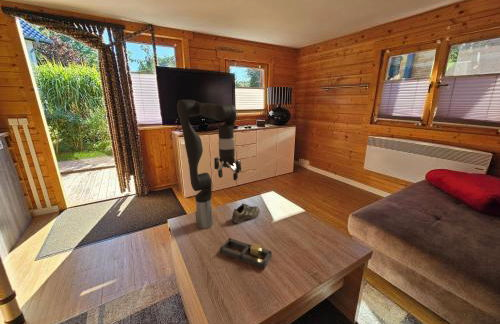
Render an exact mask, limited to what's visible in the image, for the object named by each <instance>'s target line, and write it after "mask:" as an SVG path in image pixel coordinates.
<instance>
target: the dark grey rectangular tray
mask: <svg viewBox="0 0 500 324" xmlns="http://www.w3.org/2000/svg"><path fill="white" fill-rule="evenodd" d="M252 245H253V244H249V243H246V242H244V241H239V240H237V239H233V238H228V239H227V240H226V241H225V242H224V243H223V244H222V246H220V247H219V252H220V254H221V255H224V256H226V257H229V258H231V259H234V260H237V261H240V262H243V263H246V264H249V265H251V266H253V267H257V268H259V269H262V270H265V269H266V267H267V266H268V264H269V262H270V260H271V259H272V253H273V252H272V251H271V250H268V249H266V248H263V247H262V248H261V257H263V258H264V259H262V258H261V259H258V258H255V257H252V256H251V255H250V254H249V253H250V248H251V246H252ZM230 246H231V247H233V248H236V249H240V250H242V251H241V252H239V251H237V250H234V249H232V248H230Z"/></svg>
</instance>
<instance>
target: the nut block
mask: <svg viewBox="0 0 500 324" xmlns="http://www.w3.org/2000/svg"><path fill="white" fill-rule="evenodd" d="M251 245H252V246H251V248H250V252H249V253H250V254H249V256H252V257H255V258H258V259H261V260H262V256H261V248H262V249H263V247H262V246H263V245H262V244H259V243H255V242H253V244H251Z"/></svg>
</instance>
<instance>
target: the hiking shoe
mask: <svg viewBox="0 0 500 324" xmlns="http://www.w3.org/2000/svg"><path fill="white" fill-rule="evenodd" d="M260 213H261V210H260V208H259V206H257V205H256V206H251V205H249V204H246V203H244V202H243V203H241V205H240V206H238V207H236V208H234V210H233V212H232V216H231V221H232V222H233V223H235V224H241V223H244V222H245V221H246V220H253V219H256V218H257V217H258V216H259V215H260Z"/></svg>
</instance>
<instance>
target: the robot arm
mask: <svg viewBox="0 0 500 324" xmlns="http://www.w3.org/2000/svg"><path fill="white" fill-rule="evenodd" d="M176 110H177V114H178V118H179V121H180V125H181V130H182V135H183V139H184V141H183V142H184V147H185V152H186V157H187V162H188V168H189V169H188V170H189V178H190V185H191V188H192V190H193V191H195V192H198V193H196V195H195V197H194V198H195V207H196V208H195V209H196V210H195V212H194V213H195V222H196V223H195V224H196V225H197V226H198V228H199V229H209V228H211V227H212V226H213V225H214V220H213V216H214V215H213V206H212V205H213V203H212V202H213V201H212V193H213V190H212V185H213V184H212V183H213V182H212V177H211V175H210V173H208V172H202V173H201V172H200V173H198V172H199V171H198V167H199V163H200V160H201V158H202V154H203V151H204V149H203V142H202V139H201V136H199V134H198V133H197V132H196V130H195V129H194V128H193V126H192V125H191V122H190V117H191V118H192V117H197V116H202V117H205V118H208V119H213V120H216V121H224V122H223V124H222V125H219V126H218V156H216V157H214V161H213V163H214V165H213V167H214V170H216V171H217V175H218V177H219V178H220V179H221V178H223V177H224V176H223V168H227V169H230V170H231V171H232V173H233V175H232V177H233V179H232V180H233V181H237V180H238V174H239V173H240V172H242V162H241V159H236V158H235V155H236V153H235V140H234V137H235V135H234V127H235V123H236V119H237V109H236V107H235V106H234V104H231V103H230V104H229V103H225V104H216V103H213V102H212V103H209V102H207V103H206V102H205V103H204V102H200V101H197V100H193V99H179V100H178V101H177V104H176Z"/></svg>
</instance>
